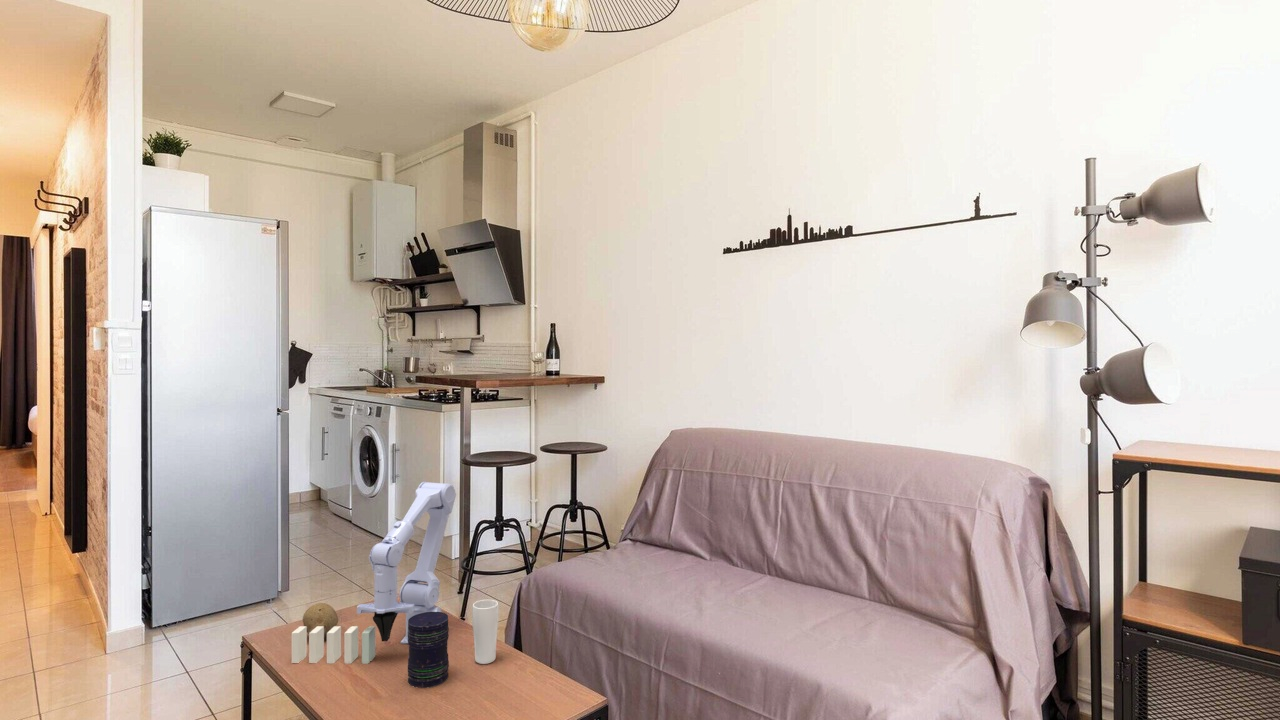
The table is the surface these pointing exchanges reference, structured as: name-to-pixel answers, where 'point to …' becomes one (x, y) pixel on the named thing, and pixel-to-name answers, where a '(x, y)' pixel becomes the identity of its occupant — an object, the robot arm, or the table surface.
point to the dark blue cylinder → (428, 649)
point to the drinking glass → (485, 630)
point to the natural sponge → (320, 617)
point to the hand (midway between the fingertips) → (385, 639)
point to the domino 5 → (368, 644)
